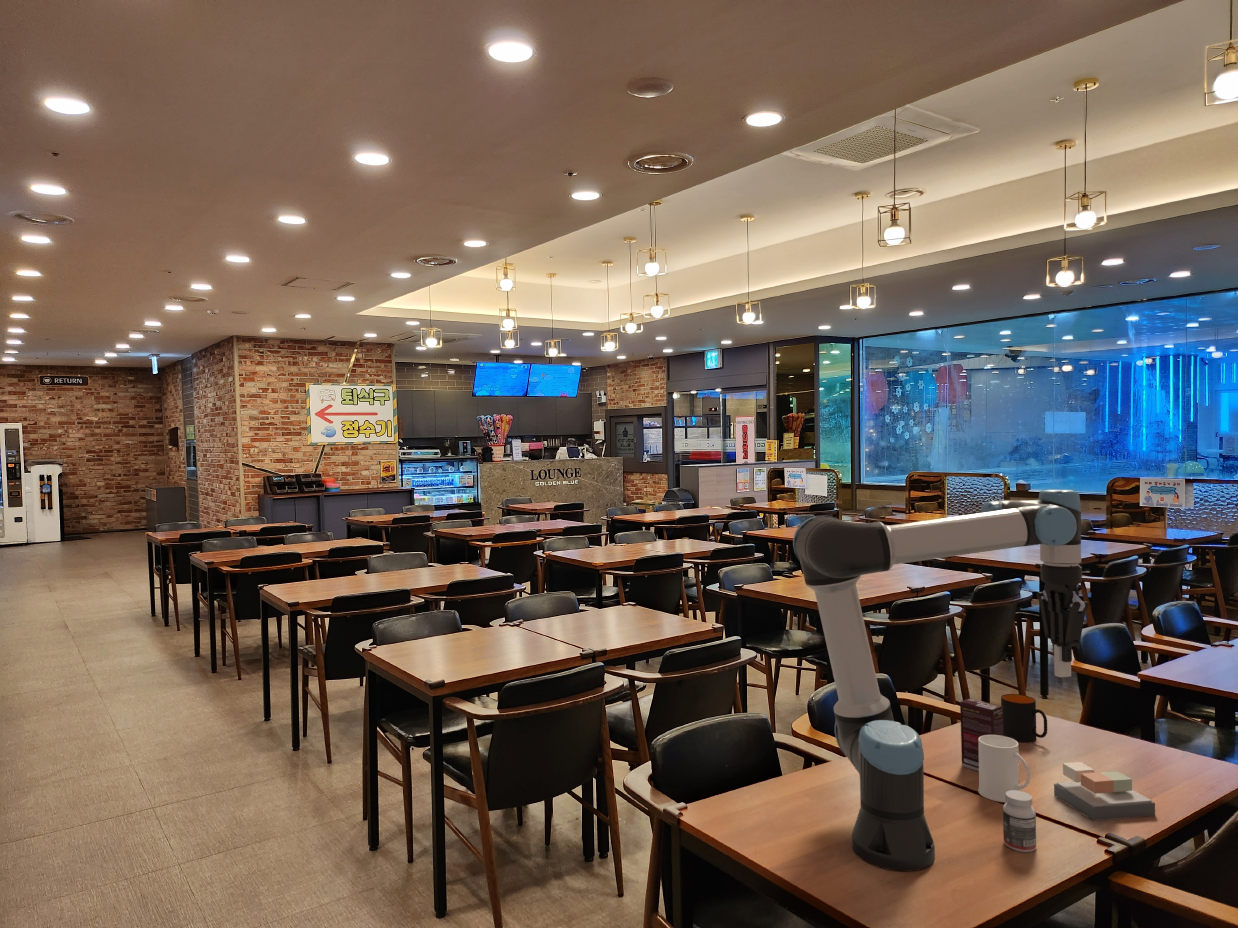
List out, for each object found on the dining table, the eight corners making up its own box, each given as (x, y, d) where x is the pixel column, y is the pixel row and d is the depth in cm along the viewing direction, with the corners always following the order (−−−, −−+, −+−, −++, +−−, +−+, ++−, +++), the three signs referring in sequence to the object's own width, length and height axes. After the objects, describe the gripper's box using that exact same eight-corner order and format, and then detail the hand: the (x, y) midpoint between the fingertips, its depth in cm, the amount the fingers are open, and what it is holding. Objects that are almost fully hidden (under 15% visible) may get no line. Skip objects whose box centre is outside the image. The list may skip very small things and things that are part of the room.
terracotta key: (1095, 793, 161) (1095, 781, 161) (1080, 784, 165) (1080, 773, 165) (1113, 791, 162) (1113, 780, 162) (1099, 783, 166) (1098, 771, 166)
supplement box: (1005, 771, 185) (1004, 705, 185) (994, 777, 182) (993, 710, 182) (971, 760, 192) (969, 697, 192) (960, 765, 189) (959, 701, 189)
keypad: (1093, 820, 160) (1093, 805, 160) (1054, 795, 172) (1053, 781, 172) (1155, 815, 161) (1154, 800, 161) (1112, 790, 173) (1111, 777, 173)
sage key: (1113, 791, 165) (1113, 780, 165) (1099, 783, 169) (1099, 772, 169) (1132, 790, 165) (1131, 778, 165) (1117, 782, 169) (1117, 770, 169)
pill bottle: (1004, 835, 154) (1003, 786, 154) (1036, 842, 152) (1036, 792, 151) (1002, 848, 149) (1001, 797, 149) (1035, 855, 147) (1034, 803, 147)
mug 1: (1037, 749, 198) (1037, 709, 198) (994, 735, 208) (994, 697, 208) (1056, 742, 202) (1056, 703, 202) (1014, 729, 213) (1013, 691, 212)
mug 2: (1042, 804, 168) (1041, 749, 167) (1012, 811, 164) (1011, 755, 164) (998, 783, 179) (997, 731, 178) (969, 789, 176) (968, 737, 175)
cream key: (1076, 782, 167) (1076, 770, 167) (1063, 774, 171) (1062, 763, 171) (1094, 780, 167) (1094, 769, 167) (1080, 773, 171) (1080, 761, 171)
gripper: (1100, 567, 156) (1102, 683, 156) (1056, 558, 169) (1058, 666, 169) (1065, 568, 155) (1067, 685, 155) (1024, 560, 168) (1026, 668, 168)
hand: (1062, 675), depth 162 cm, fingers closed
